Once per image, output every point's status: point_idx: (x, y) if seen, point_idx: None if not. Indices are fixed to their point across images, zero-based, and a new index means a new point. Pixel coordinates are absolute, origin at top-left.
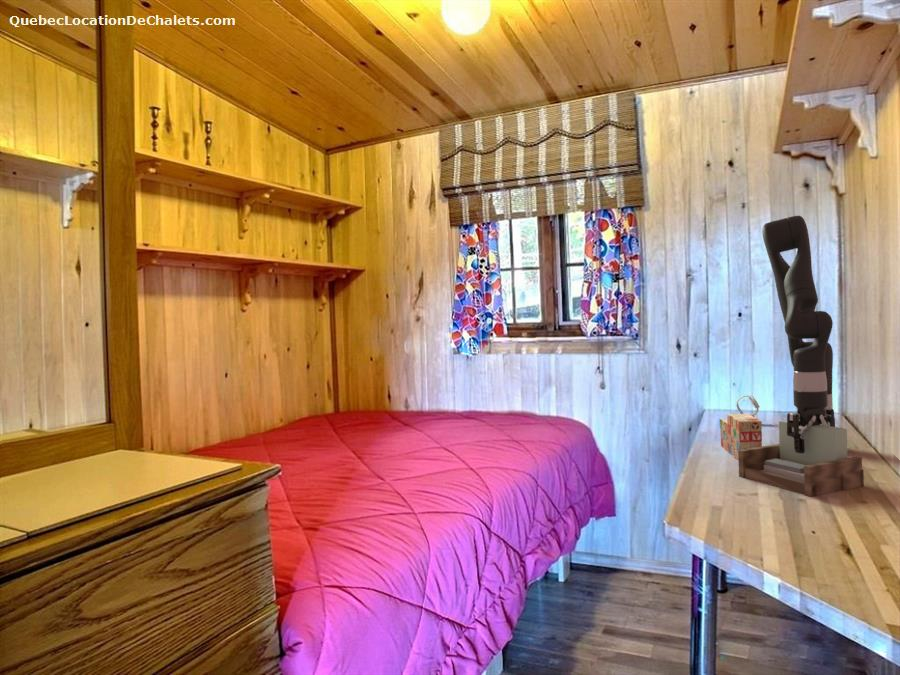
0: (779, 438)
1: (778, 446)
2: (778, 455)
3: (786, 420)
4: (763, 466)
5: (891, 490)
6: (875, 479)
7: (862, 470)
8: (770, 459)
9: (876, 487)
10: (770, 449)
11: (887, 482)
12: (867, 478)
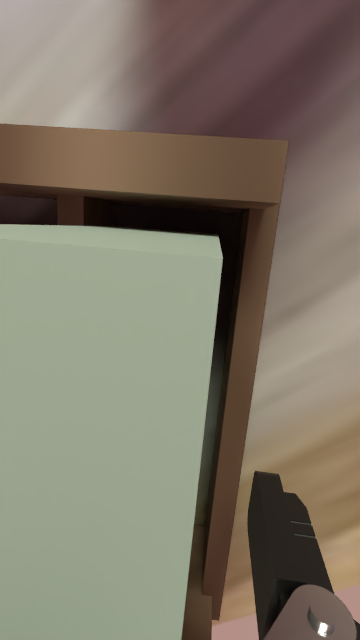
0: (40, 225)
1: (107, 190)
2: (125, 198)
3: (36, 279)
4: (13, 193)
5: (237, 616)
6: (355, 535)
7: (212, 615)
8: (53, 194)
9: (235, 578)
10: (17, 185)
11: (341, 576)
12: (347, 512)
